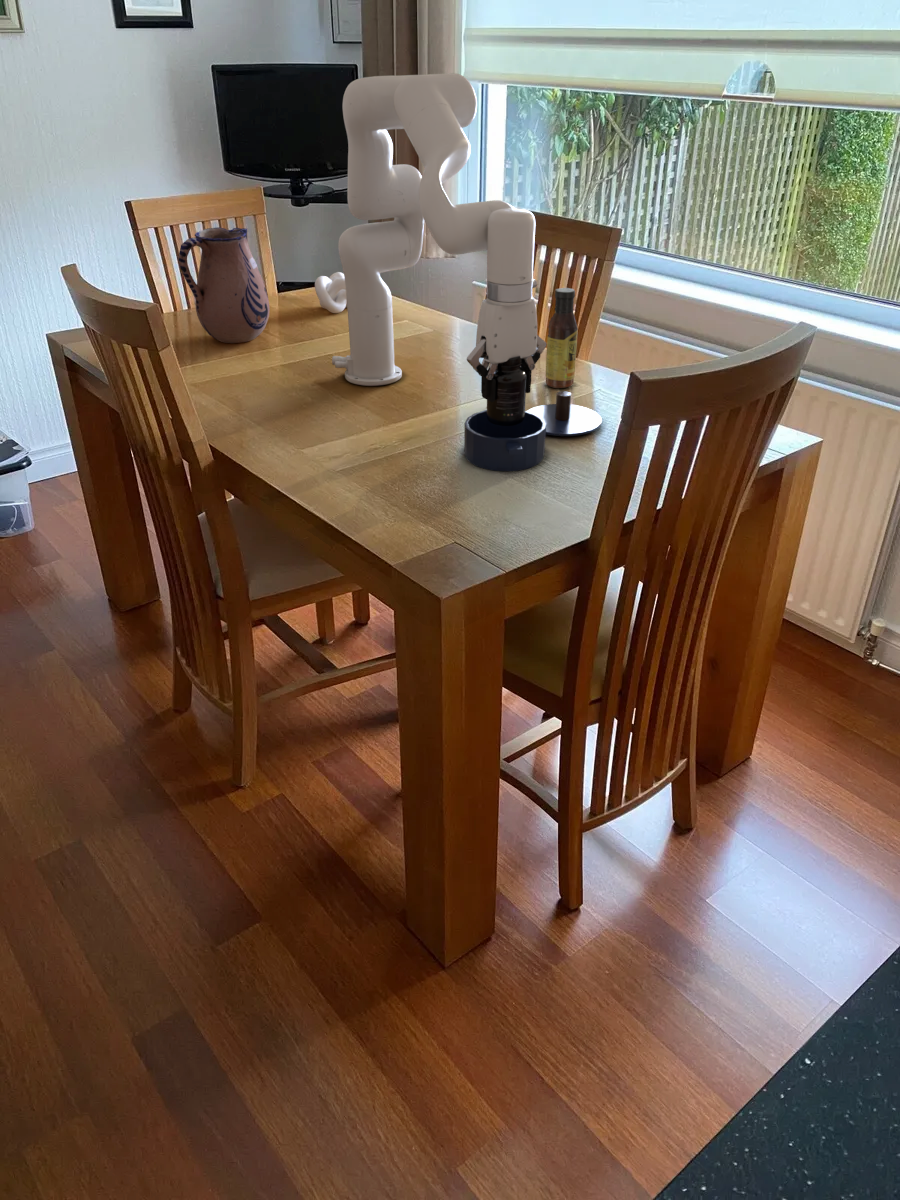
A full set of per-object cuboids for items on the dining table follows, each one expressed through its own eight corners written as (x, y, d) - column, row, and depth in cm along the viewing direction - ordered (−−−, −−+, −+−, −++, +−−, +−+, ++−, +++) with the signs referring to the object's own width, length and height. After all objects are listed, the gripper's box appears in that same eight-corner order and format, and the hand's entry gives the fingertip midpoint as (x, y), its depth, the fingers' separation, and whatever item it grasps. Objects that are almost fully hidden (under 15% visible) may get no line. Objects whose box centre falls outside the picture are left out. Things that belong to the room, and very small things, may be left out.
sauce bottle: (572, 390, 190) (579, 295, 179) (543, 388, 191) (548, 293, 180) (575, 380, 196) (582, 286, 185) (546, 378, 197) (551, 285, 186)
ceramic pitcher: (287, 334, 224) (276, 228, 210) (227, 358, 209) (211, 245, 195) (236, 324, 232) (222, 221, 218) (175, 345, 217) (155, 236, 203)
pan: (473, 480, 154) (474, 448, 151) (457, 435, 170) (457, 405, 167) (555, 475, 156) (557, 443, 152) (531, 431, 172) (533, 401, 169)
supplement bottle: (484, 413, 162) (485, 347, 155) (521, 412, 162) (524, 346, 156) (488, 427, 156) (490, 360, 150) (527, 426, 157) (530, 359, 150)
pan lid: (531, 441, 168) (533, 410, 165) (515, 411, 181) (516, 381, 177) (611, 436, 170) (614, 406, 166) (589, 407, 182) (592, 378, 179)
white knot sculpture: (339, 318, 236) (336, 283, 231) (304, 311, 241) (301, 277, 236) (365, 308, 244) (363, 274, 239) (331, 302, 249) (328, 268, 244)
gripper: (537, 278, 154) (532, 379, 163) (452, 293, 146) (452, 398, 156) (565, 288, 148) (558, 391, 158) (478, 304, 141) (477, 411, 150)
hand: (506, 394), depth 157 cm, fingers closed on supplement bottle, 6 cm apart
